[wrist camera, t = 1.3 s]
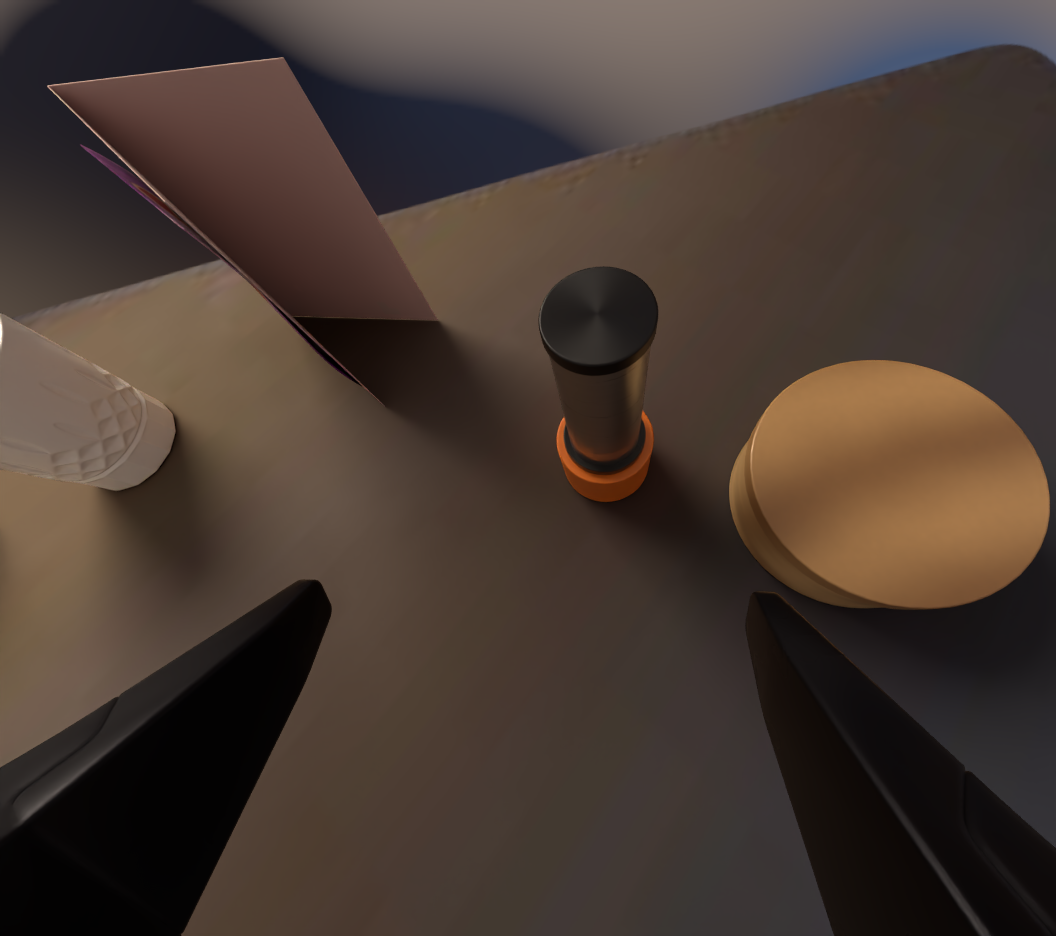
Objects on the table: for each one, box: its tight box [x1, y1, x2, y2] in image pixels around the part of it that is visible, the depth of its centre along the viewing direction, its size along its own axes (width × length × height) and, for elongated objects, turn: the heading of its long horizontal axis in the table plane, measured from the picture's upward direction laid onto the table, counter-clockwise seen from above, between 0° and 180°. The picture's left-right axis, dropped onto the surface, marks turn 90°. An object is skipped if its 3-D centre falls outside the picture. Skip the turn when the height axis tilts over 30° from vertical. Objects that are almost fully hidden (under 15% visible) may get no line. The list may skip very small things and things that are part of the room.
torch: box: [539, 267, 658, 502], centre depth 19 cm, size 5×5×13 cm
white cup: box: [0, 313, 176, 491], centre depth 27 cm, size 8×8×10 cm
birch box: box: [729, 360, 1050, 610], centre depth 20 cm, size 10×10×4 cm
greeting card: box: [48, 57, 438, 407], centre depth 24 cm, size 11×7×15 cm, turn 45°
